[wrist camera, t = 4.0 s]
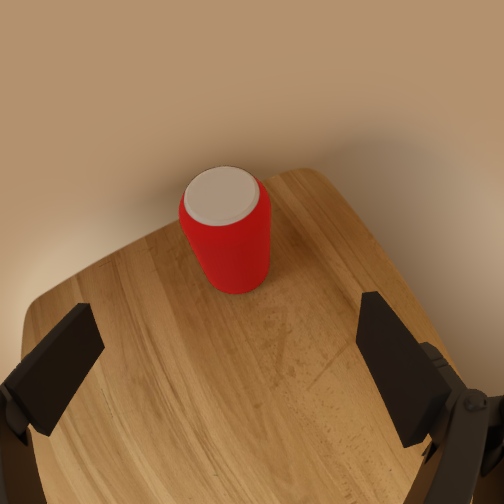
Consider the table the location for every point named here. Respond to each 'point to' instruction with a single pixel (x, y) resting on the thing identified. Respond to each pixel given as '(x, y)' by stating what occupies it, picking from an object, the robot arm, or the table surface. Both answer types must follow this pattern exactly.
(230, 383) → the table surface
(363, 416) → the table surface
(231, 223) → the beverage can
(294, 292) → the table surface
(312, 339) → the table surface
